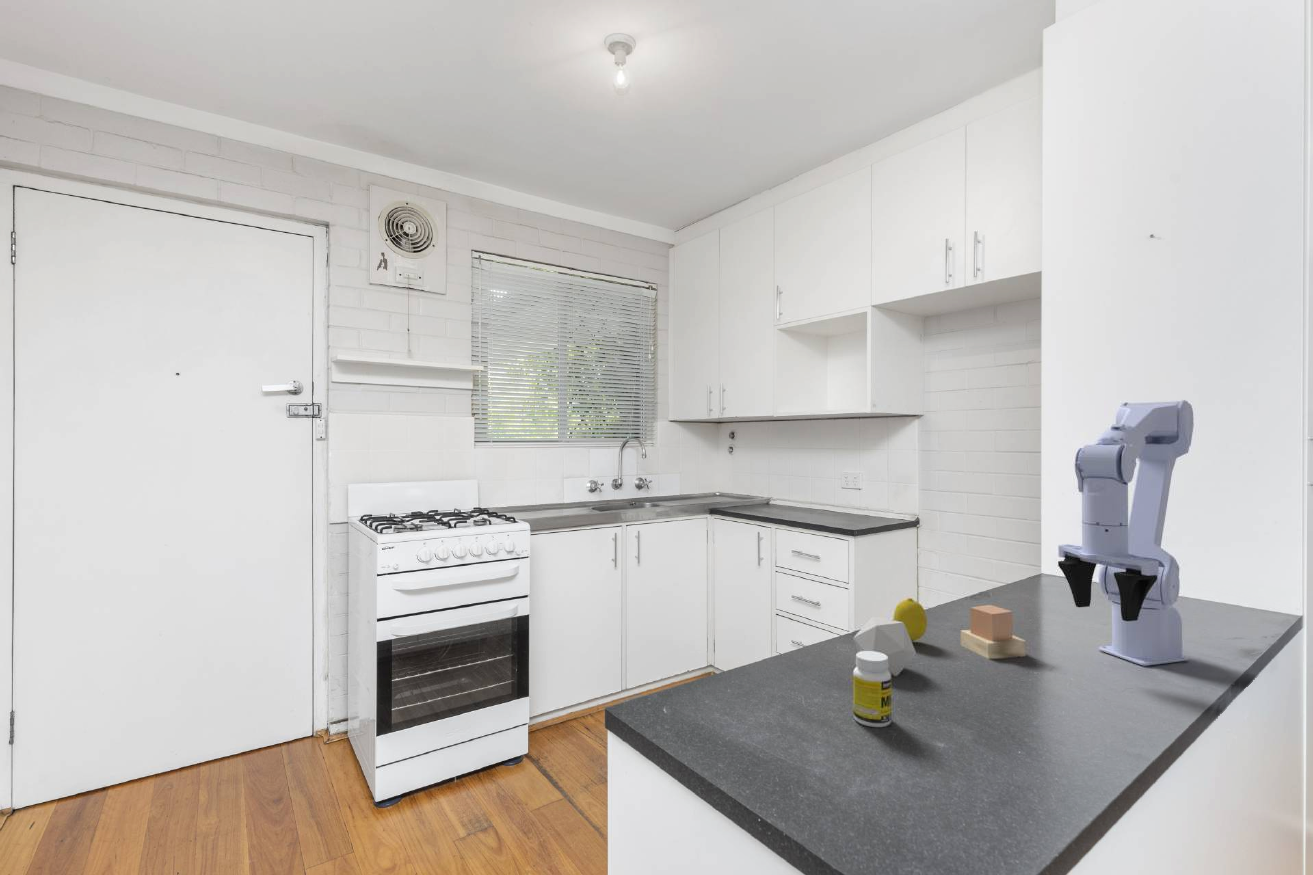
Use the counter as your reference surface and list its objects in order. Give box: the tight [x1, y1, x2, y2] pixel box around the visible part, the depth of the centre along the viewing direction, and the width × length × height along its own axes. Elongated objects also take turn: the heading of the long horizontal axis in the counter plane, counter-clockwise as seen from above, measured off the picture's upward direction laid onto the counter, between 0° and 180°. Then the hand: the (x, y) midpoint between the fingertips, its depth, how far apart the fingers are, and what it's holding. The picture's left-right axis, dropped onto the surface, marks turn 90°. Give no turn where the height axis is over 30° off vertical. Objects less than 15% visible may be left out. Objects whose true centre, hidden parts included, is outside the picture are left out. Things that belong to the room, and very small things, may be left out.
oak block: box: [960, 629, 1027, 660], centre depth 107 cm, size 7×7×3 cm
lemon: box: [893, 597, 928, 643], centre depth 112 cm, size 6×6×8 cm
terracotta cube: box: [969, 604, 1014, 641], centre depth 107 cm, size 4×4×4 cm
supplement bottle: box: [852, 651, 892, 728], centre depth 81 cm, size 5×5×8 cm
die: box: [853, 616, 917, 677], centre depth 99 cm, size 8×9×10 cm
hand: (1105, 613), depth 95 cm, fingers open, 7 cm apart
